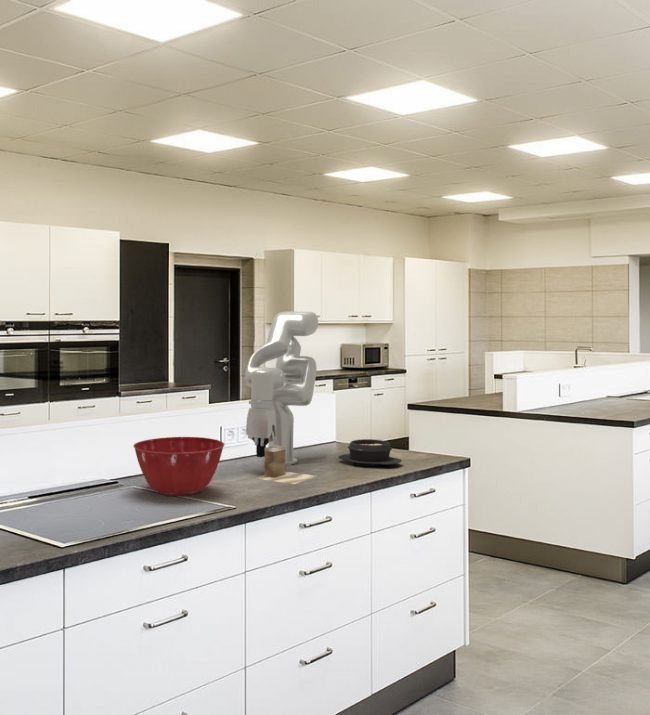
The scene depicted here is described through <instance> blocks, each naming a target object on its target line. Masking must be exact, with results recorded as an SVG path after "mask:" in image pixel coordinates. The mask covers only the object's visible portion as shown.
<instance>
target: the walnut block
mask: <svg viewBox="0 0 650 715" xmlns="http://www.w3.org/2000/svg"><path fill="white" fill-rule="evenodd" d="M264 459H265V462H264V467H263V468H264V474H263V476H264V477H271V478H275V477H278V476H282V475H285V472H286V464H285V446H279V445H274V446H270V447H268V446H266V448H265V457H264Z"/></svg>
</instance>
